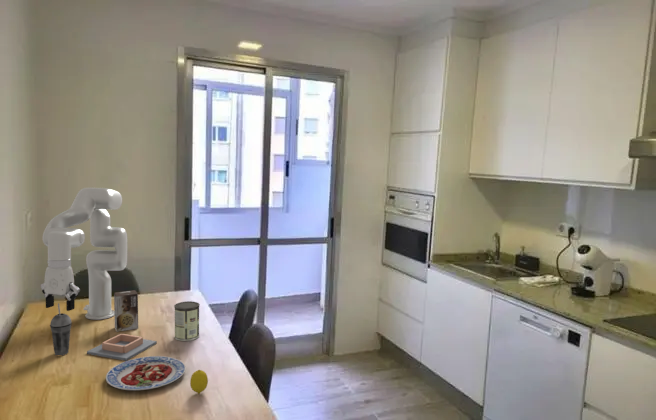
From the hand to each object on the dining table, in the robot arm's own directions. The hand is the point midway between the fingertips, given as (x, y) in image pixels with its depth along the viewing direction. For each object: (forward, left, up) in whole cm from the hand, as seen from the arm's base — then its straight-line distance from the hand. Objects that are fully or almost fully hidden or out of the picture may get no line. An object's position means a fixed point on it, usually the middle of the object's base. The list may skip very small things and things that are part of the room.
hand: (60, 308), depth 175 cm
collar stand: (+18, +12, -18) cm, 28 cm away
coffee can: (+34, +32, -18) cm, 50 cm away
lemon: (+65, -9, -18) cm, 68 cm away
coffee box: (+4, +31, -18) cm, 36 cm away
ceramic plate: (+42, -5, -18) cm, 46 cm away
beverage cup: (0, 0, -18) cm, 18 cm away
